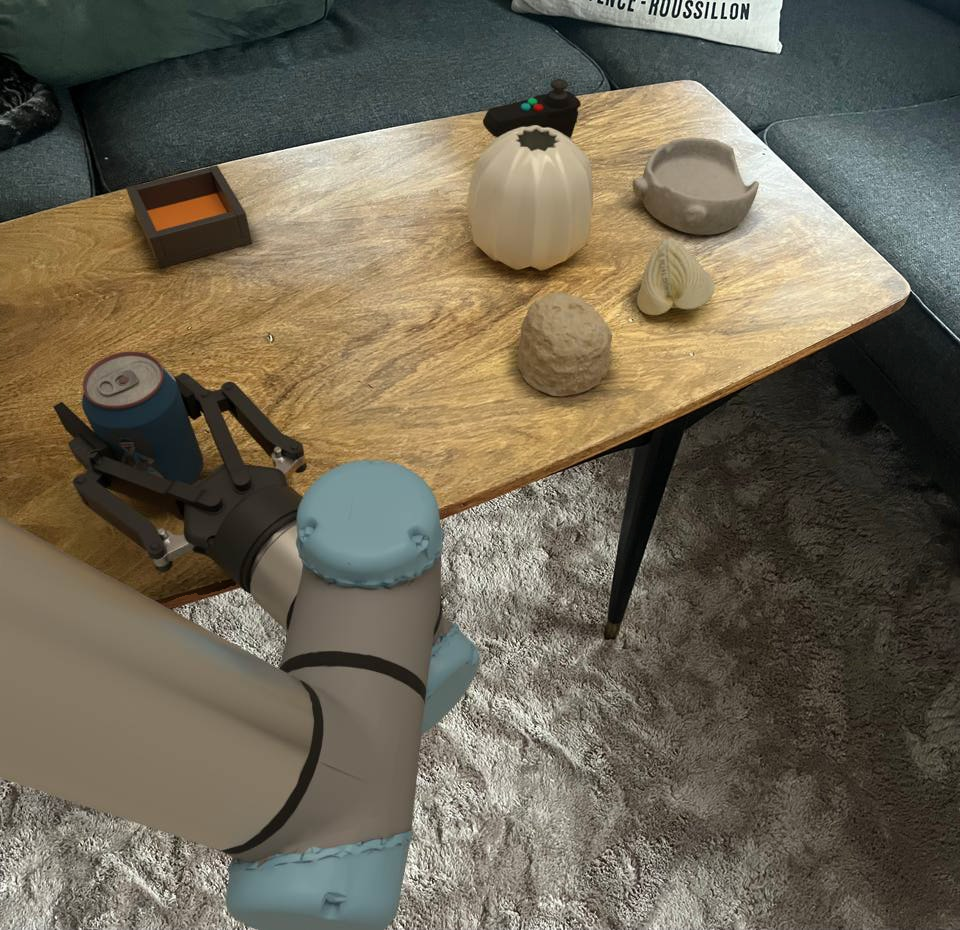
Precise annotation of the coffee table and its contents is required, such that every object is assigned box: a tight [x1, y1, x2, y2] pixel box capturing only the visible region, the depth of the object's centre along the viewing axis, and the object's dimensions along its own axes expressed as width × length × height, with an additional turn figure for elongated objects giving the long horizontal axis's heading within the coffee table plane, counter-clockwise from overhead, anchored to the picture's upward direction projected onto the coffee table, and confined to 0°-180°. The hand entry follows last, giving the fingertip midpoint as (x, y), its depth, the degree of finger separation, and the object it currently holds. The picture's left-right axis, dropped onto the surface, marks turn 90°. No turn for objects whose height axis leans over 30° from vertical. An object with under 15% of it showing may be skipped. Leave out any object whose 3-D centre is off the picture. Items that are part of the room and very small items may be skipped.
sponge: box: [517, 291, 613, 397], centre depth 81 cm, size 9×10×10 cm
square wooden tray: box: [125, 164, 253, 269], centre depth 94 cm, size 10×10×4 cm
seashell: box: [636, 237, 715, 316], centre depth 88 cm, size 8×8×8 cm
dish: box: [632, 137, 760, 236], centre depth 99 cm, size 14×14×5 cm
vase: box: [466, 125, 594, 271], centre depth 90 cm, size 14×14×13 cm
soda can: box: [81, 351, 204, 485], centre depth 66 cm, size 7×7×12 cm
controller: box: [482, 78, 582, 140], centre depth 102 cm, size 4×12×10 cm, turn 116°
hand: (106, 390), depth 67 cm, fingers closed on soda can, 7 cm apart
